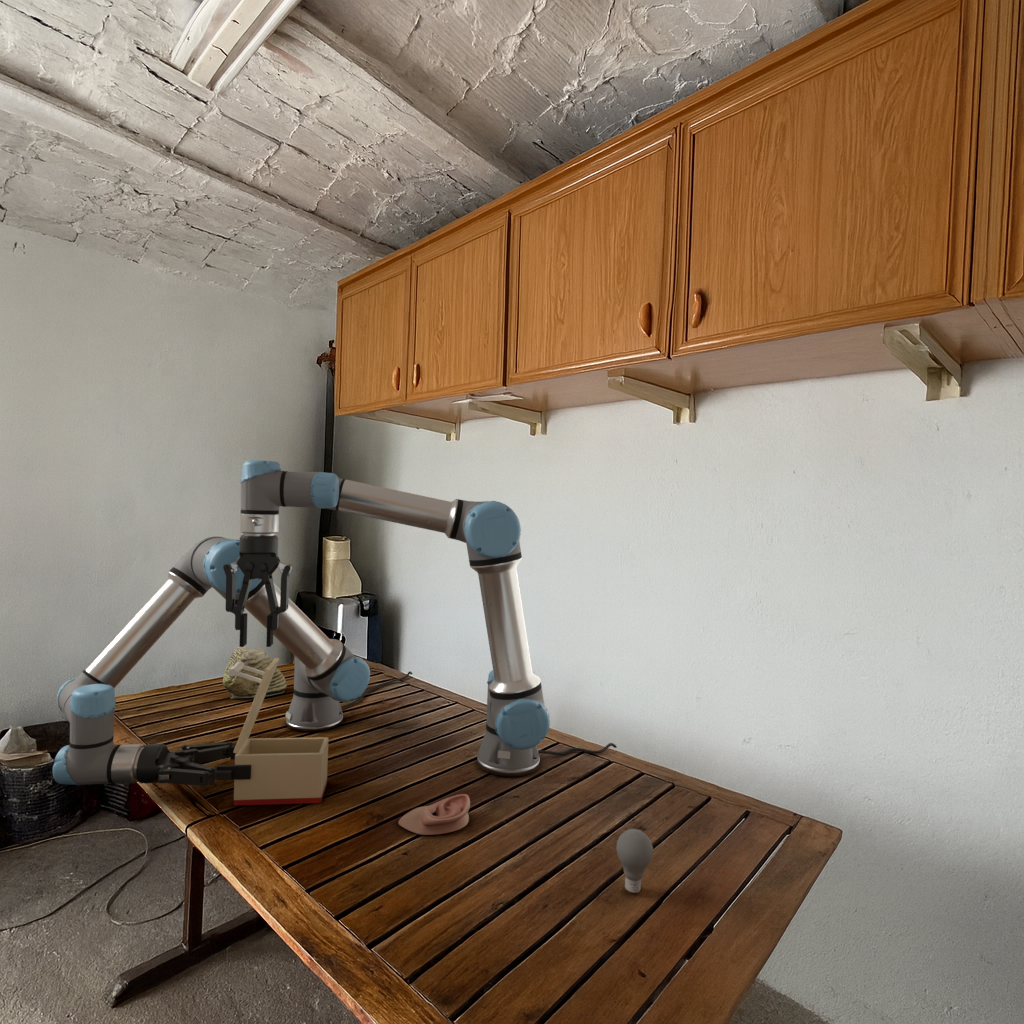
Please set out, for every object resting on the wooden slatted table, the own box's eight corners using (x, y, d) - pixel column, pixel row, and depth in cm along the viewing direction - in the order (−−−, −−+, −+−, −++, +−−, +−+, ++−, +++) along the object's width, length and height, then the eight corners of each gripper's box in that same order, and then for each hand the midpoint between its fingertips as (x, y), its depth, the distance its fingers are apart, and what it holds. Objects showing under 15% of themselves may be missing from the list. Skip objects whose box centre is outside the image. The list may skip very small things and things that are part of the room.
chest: (327, 782, 140) (328, 737, 140) (320, 802, 131) (322, 754, 131) (245, 784, 138) (247, 738, 137) (233, 805, 128) (234, 755, 128)
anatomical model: (392, 810, 121) (414, 784, 132) (391, 830, 121) (413, 803, 132) (459, 820, 118) (475, 792, 130) (458, 841, 118) (474, 812, 130)
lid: (279, 658, 138) (244, 646, 137) (270, 669, 129) (232, 657, 128) (249, 736, 137) (213, 725, 136) (237, 754, 128) (198, 742, 127)
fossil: (218, 695, 195) (220, 647, 195) (278, 685, 208) (279, 640, 207) (228, 703, 189) (230, 653, 188) (289, 692, 201) (290, 645, 201)
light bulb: (610, 879, 108) (613, 822, 108) (644, 879, 109) (647, 822, 109) (619, 902, 102) (622, 840, 102) (655, 901, 103) (658, 840, 103)
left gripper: (162, 759, 141) (268, 758, 144) (116, 807, 119) (241, 804, 123) (164, 726, 141) (269, 725, 144) (117, 768, 119) (243, 766, 122)
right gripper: (208, 534, 127) (205, 649, 128) (299, 536, 130) (296, 649, 130) (220, 532, 135) (217, 641, 135) (306, 534, 137) (303, 641, 138)
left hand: (256, 761), depth 133 cm, fingers closed on chest, 9 cm apart
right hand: (256, 645), depth 133 cm, fingers open, 5 cm apart
